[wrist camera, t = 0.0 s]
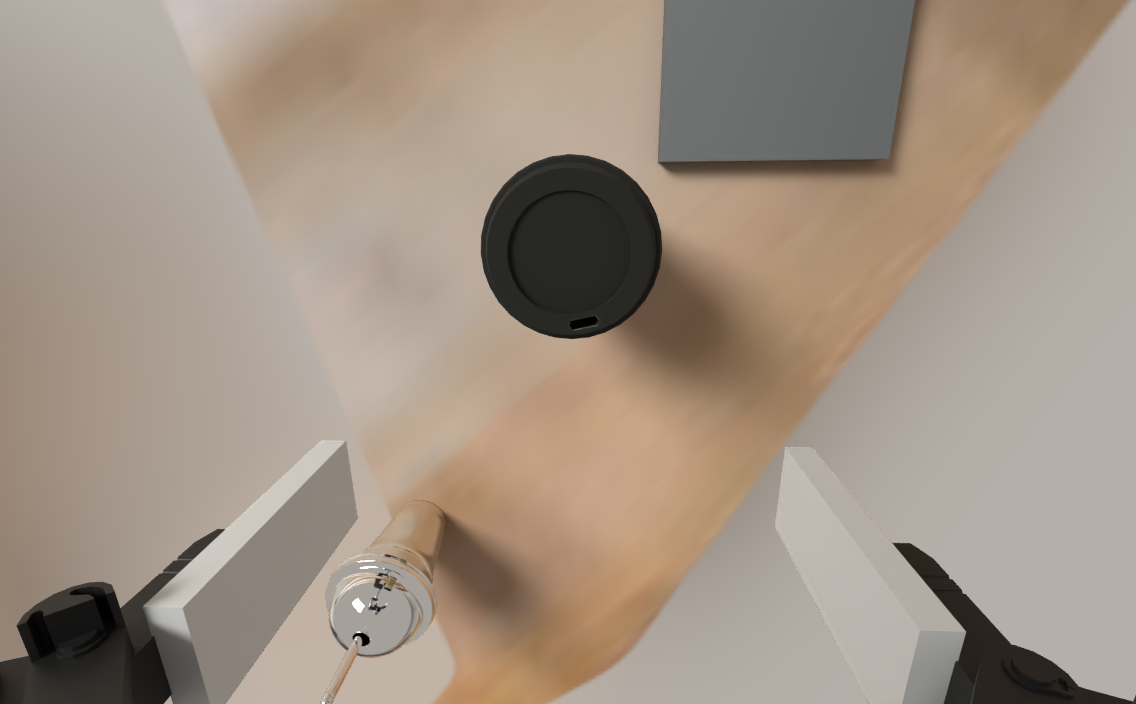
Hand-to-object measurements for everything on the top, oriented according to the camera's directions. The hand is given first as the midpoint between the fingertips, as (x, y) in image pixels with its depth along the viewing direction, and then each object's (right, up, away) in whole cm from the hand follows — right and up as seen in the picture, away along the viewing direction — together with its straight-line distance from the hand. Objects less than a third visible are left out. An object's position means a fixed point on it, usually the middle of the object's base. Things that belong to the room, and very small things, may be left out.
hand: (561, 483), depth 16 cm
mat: (+15, +28, +20) cm, 37 cm away
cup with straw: (-14, -12, +34) cm, 39 cm away
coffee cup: (+1, +13, +25) cm, 29 cm away
